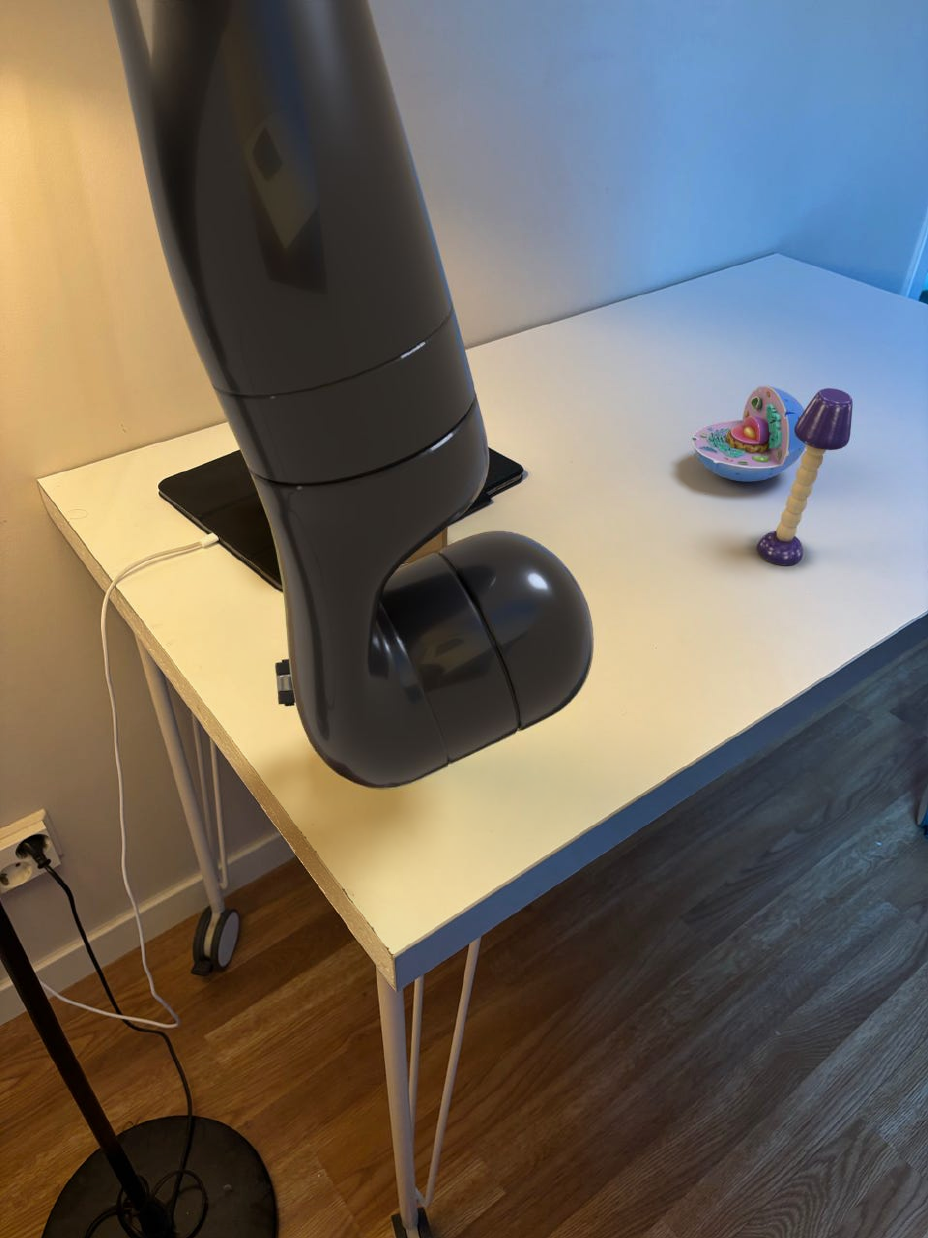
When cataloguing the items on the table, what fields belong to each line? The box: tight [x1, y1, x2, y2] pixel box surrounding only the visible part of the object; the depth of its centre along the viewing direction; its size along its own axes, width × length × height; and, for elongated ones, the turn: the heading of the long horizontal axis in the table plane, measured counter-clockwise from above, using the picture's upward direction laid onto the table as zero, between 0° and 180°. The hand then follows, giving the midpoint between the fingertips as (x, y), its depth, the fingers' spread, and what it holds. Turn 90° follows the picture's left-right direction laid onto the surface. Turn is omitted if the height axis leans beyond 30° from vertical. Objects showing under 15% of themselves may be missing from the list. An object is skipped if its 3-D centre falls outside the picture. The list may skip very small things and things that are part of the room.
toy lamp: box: [756, 387, 853, 566], centre depth 85 cm, size 5×5×17 cm
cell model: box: [691, 385, 806, 483], centre depth 98 cm, size 10×12×10 cm
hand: (385, 675), depth 66 cm, fingers open, 8 cm apart
